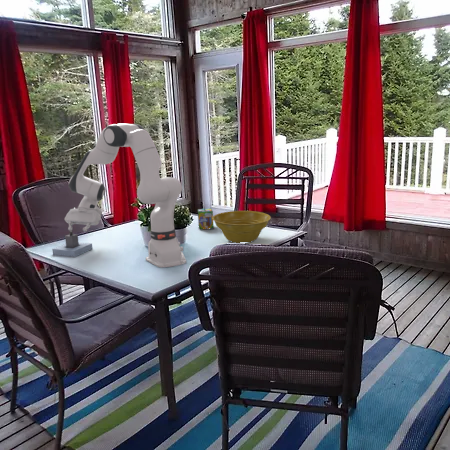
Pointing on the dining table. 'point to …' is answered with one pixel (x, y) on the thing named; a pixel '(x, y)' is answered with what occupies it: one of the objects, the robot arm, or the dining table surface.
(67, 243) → the plug
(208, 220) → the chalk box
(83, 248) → the socket
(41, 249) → the dining table surface
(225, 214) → the planter bowl
